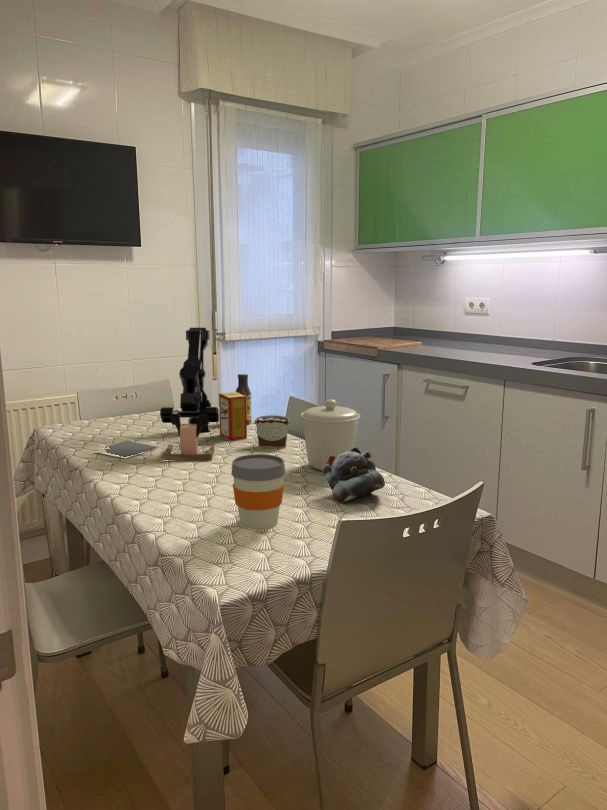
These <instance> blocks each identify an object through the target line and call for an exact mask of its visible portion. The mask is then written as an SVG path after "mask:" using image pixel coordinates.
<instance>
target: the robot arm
mask: <svg viewBox="0 0 607 810" xmlns="http://www.w3.org/2000/svg"><path fill="white" fill-rule="evenodd" d="M210 335H211V334H210V330H207V327H189V329H188V330H185V341H188V342H187V343H188V350H187V351H188V352H187V359H186V360H185V361H183V364H182V365H183V366H182V367H181V368H180V370H179V379H180V380H181V381H180V383H181V386H182V393H180V405H179V407H180V410H178V409H174V407H173V406H163V407H161V408H160V410H159V415H160V419H161V422H162V423H163V424H167V423H168V424H170V423H171V425H173V426H175V428H176V429H177V433H178V436H179V438H180V426H181V424H182V423H181V418H182V419H183V418H186V419H187V418H188V423H187V424H197V431H196V437H199V436H200V434H201V433H202V434H203V433H210V432H211V430H210V429H209V424H210V423H218V422H219V423H220V416H219V407H217V406H212V403H211V402H210V400H209V396H208V394H207V393H206V392H205V387H204V385H205V384H204V383H205V378H206V375H207V374H206V371H205V369H204V368H205V365H204V360H205V359H204V356H205V350H206V348H207V347H208V345H209V344H208V343H209V342H208V341H209V340H210V337H211V336H210Z"/></svg>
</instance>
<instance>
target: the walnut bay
mask: <svg viewBox="0 0 607 810" xmlns="http://www.w3.org/2000/svg"><path fill="white" fill-rule="evenodd" d="M172 452H173V444H168V445H167V447H166V449H165V451H164V452H163V454H162V461H163V460H187V461H186V462H195V461H196V462H200V461H201V462H202V461H209V462H211V461H213V457H214V454H215V444H214V443H211V444H210V445H209V449H208V452H207V453H198V454H181V453H172ZM188 460H190V461H188Z"/></svg>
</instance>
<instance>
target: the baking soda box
mask: <svg viewBox="0 0 607 810" xmlns="http://www.w3.org/2000/svg"><path fill="white" fill-rule="evenodd" d="M218 405H219V407H218V411H219V436H221V437H222V436H223V437H222V438H224V439H225V440H228V441H229V442H232V441H239V440H245V439H247V438H248V432H247V431H248V429H247V428H248V427H247V425H248V424H247V415H246V396H244V395H242V394H239V393H237V392H236V391H231V392H230V391H229V392H221V393H218Z"/></svg>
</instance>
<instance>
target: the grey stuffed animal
mask: <svg viewBox="0 0 607 810" xmlns="http://www.w3.org/2000/svg"><path fill="white" fill-rule="evenodd" d="M321 471H322V474H323V475H324V478H325V480H326V482H327V483H328V486H329V487H330V490H331V492H332V496H333V499H334V501H335V502H338V503H341V504H344V503H347V502H348V501H351V500H353V499H355V498H356V499H357V498H358V497H362V496H364V495H367V494H371V493H373V492H374V491H375V492H376V491H378V490H381V489H383V488H384V487H385V486H386V481H385V478H384V476H383V475H382V474H381V473H380V472H379V471H377V467H376V465H375V463H374V460H373V459H372V455H371V452H369V451H367V450H366V451H364V452H361V450H360V449H359V448H358V447H354V448H353V449H352V450H351V451H350V452H344V453H342V454H340V455H339V456H337V457H335V456H330V457H329V460H328V463H327V464H325V465H324V466H323V467H322V470H321Z"/></svg>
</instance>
